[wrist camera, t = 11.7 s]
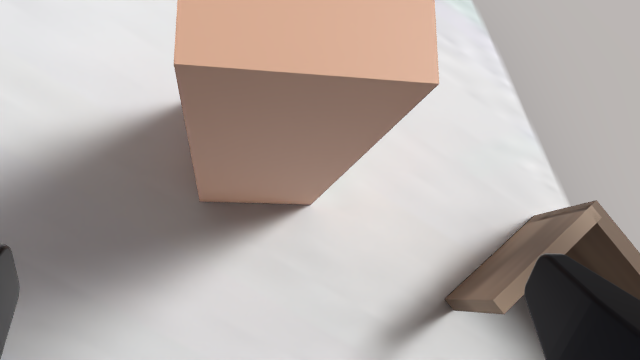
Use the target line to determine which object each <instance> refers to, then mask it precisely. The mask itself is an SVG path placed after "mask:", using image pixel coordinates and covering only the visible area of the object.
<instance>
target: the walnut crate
mask: <svg viewBox="0 0 640 360" xmlns="http://www.w3.org/2000/svg"><path fill="white" fill-rule="evenodd" d="M546 253H549V254H564V255H567V256H568V257H570V258H572V259H573V260H575V261H577V262H578V263H580V264H581V265H583V266H585V267H586V268H588V269H590V270H591V271H593V272H595V273H596V274H598V275H600V276H601V277H603V278H605V279H606V280H608V281H609V282H611V283H613V284H614V285H616V286H618V287H619V288H621V289H623V290H624V291H626V292H628V293H629V294H631V295H632V296H634V297H636V298H637V299H639V300H640V253H639V252H638V250H637V249H636V248H635V247H634V246H633V244H632V243H631V242H630V241H629V239H628V238H627V237H626V236H625V235H624V233H623V232H622V231H621V230H620V228H619V227H618V226H617V225H616V224H615V222H614V221H613V220H612V219H611V217H610V216H609V215H608V214H607V213H606V211H605V210H604V209H603V208H602V206H601V205H600V204H599V203H598V202H597V200H596V201H592V202H588V203H584V204H580V205H576V206H571V207H567V208H563V209H559V210H555V211H551V212H547V213H543V214H539V215H535V216H533V217H532V218H531V219H530V220H529V221H528V222H527V223H526V224H525V225H524V226H523V227H522V228H520V229H519V230H518V231H517V232H516V233H515V234H514V235H513V236H512V237H511V238H510V239H509V240H508V241H506V242H505V243H504V244H503V245H502V246H501V247H500V248H499V249H498V250H497V251H496V252H495V253H494V254H493V255H491V256H490V257H489V258H488V259H487V260H486V261H485V262H484V263H483V264H482V265H481V266H480V267H479V268H477V269H476V270H475V271H474V272H473V273H472V274H471V275H470V276H469V277H468V278H467V279H466V280H465V281H463V282H462V283H461V284H460V285H459V286H458V287H457V288H456V289H455V290H454V291H453V292H452V293H451V294H449V295H448V296H447V297H446V298H445V300H446V302H447V303H448V304H449V305H450V307H451V308H452V309H453V310H454V311H468V312H481V313H495V314H505V313H506V312H507V311H508V310H509V309H510V308H511V307H512V306H513V305H514V304H515V303H516V302H517V301H518V300H519V299H520V298H521V297H522V296H523V295H524V290H525V285H526V283H527V280H528V278H529V276H530V274H531V272H532V270H533V268H534V265H535V263H536V261H537V259H538V258H539V257H540V256H541V255H542V254H546Z"/></svg>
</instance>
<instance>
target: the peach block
mask: <svg viewBox="0 0 640 360" xmlns="http://www.w3.org/2000/svg"><path fill="white" fill-rule="evenodd" d="M174 67H175V73H176V78H177V83H178V89H179V94H180V99H181V105H182V110H183V115H184V121H185V126H186V131H187V137H188V142H189V147H190V153H191V158H192V163H193V169H194V174H195V179H196V184H197V190H198V195H199V200H200V202H235V203H271V204H307V205H311V204H312V203H313V202H314V201H315V200H316V199H317V198H318V197H320V196H321V195H322V194H323V193H324V192H325V191H326V190H327V189H328V188H329V187H330V186H331V185H332V184H333V183H334V182H335V181H336V180H338V179H339V178H340V177H341V176H342V175H343V174H344V173H345V172H346V171H347V170H348V169H349V168H350V167H351V166H352V165H353V164H355V163H356V162H357V161H358V160H359V159H360V158H361V157H362V156H363V155H364V154H365V153H366V152H367V151H368V150H369V149H370V148H372V147H373V146H374V145H375V144H376V143H377V142H378V141H379V140H380V139H381V138H382V137H383V136H384V135H385V134H386V133H387V132H389V131H390V130H391V129H392V128H393V127H394V126H395V125H396V124H397V123H398V122H399V121H400V120H401V119H402V118H403V117H404V116H405V115H407V114H408V113H409V112H410V111H411V110H412V109H413V108H414V107H415V106H416V105H417V104H418V103H419V102H420V101H421V100H422V99H424V98H425V97H426V96H427V95H428V94H429V93H430V92H431V91H432V90H433V89H434V88H435V87H436V86H437V85H438V84H439V72H438V54H437V36H436V18H435V0H178V2H177V19H176V36H175V52H174Z"/></svg>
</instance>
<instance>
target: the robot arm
mask: <svg viewBox="0 0 640 360" xmlns="http://www.w3.org/2000/svg"><path fill="white" fill-rule="evenodd" d="M524 294H525V300H526V303H527V306H528V309H529V312H530V315H531V318H532V321H533V324H534V327H535V329H536V332H537V335H538V338H539V341H540V344H541V347H542V350H543V353H544V356H545V359H546V360H640V300H639V299H637V298H636V297H634V296H632V295H631V294H629V293H628V292H626V291H624V290H623V289H621V288H619V287H618V286H616V285H614V284H613V283H611V282H609V281H608V280H606V279H605V278H603V277H601V276H600V275H598V274H596V273H595V272H593V271H591V270H590V269H588V268H586V267H585V266H583V265H581V264H580V263H578V262H577V261H575V260H573V259H572V258H570V257H568V256H567V255H564V254H549V253H546V254H542V255H541V256H540V257H539V258H538V259H537V261H536V263H535V265H534V268H533V270H532V272H531V274H530V276H529V278H528V280H527V283H526V285H525V290H524ZM18 296H19V281H18V277H17V272H16V268H15V264H14V259H13V255H12V251H11V249H10V247H9V246H7V245H5V244H0V359H1V356H2V352H3V349H4V345H5V342H6V338H7V335H8V332H9V328H10V325H11V321H12V318H13V314H14V311H15V307H16V304H17V300H18Z"/></svg>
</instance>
